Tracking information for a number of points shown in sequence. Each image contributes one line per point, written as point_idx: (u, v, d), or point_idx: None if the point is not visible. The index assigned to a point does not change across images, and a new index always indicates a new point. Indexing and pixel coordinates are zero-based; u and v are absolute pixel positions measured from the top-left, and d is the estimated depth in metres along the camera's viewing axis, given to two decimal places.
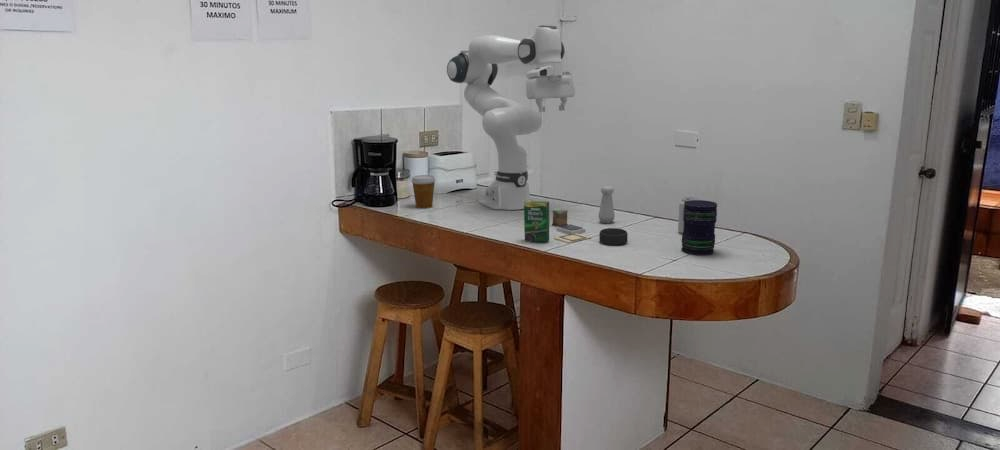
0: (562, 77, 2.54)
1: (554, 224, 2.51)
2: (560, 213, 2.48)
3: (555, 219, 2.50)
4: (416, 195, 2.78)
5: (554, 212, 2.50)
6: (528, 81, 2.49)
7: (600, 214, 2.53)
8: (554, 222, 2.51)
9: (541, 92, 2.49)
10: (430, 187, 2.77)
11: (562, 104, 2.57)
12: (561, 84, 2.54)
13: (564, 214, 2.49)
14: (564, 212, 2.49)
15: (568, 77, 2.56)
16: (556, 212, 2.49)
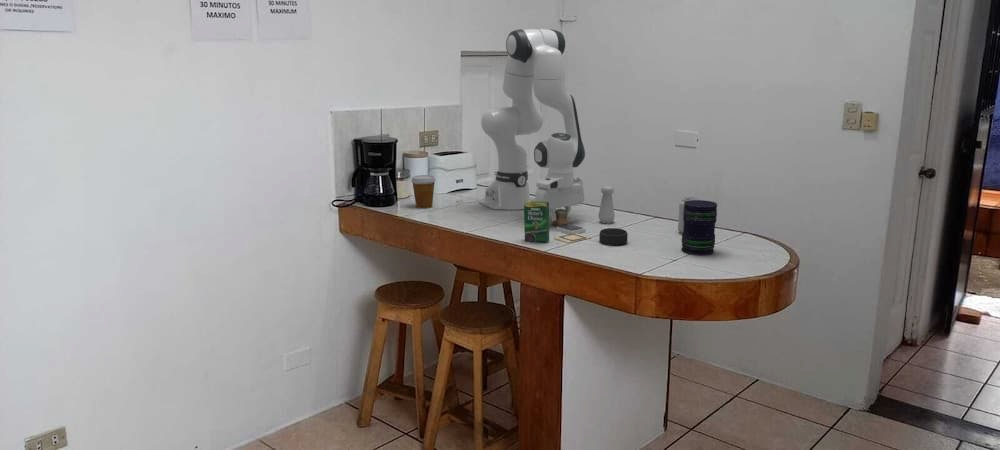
0: (572, 186, 2.49)
1: (554, 224, 2.51)
2: (560, 213, 2.48)
3: None
4: (416, 195, 2.78)
5: None
6: (538, 191, 2.44)
7: (600, 214, 2.53)
8: (554, 222, 2.51)
9: (550, 203, 2.44)
10: (430, 187, 2.77)
11: None
12: (571, 193, 2.50)
13: (564, 214, 2.49)
14: (564, 212, 2.49)
15: (578, 185, 2.51)
16: (556, 212, 2.49)
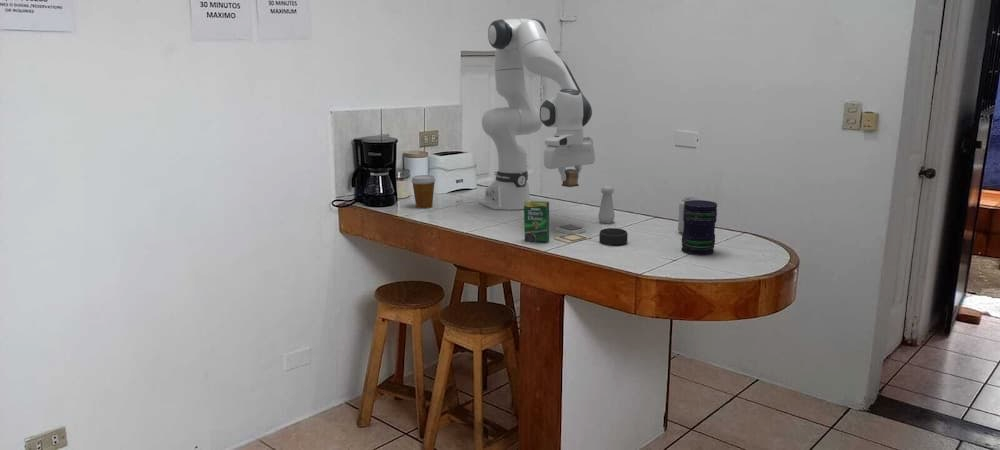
0: (582, 144, 2.39)
1: (564, 184, 2.40)
2: (570, 172, 2.37)
3: None
4: (416, 195, 2.78)
5: None
6: (546, 149, 2.33)
7: (600, 214, 2.53)
8: (564, 182, 2.40)
9: (560, 161, 2.34)
10: (430, 187, 2.77)
11: None
12: (581, 151, 2.39)
13: (574, 173, 2.38)
14: (574, 171, 2.38)
15: (589, 144, 2.40)
16: (566, 171, 2.38)
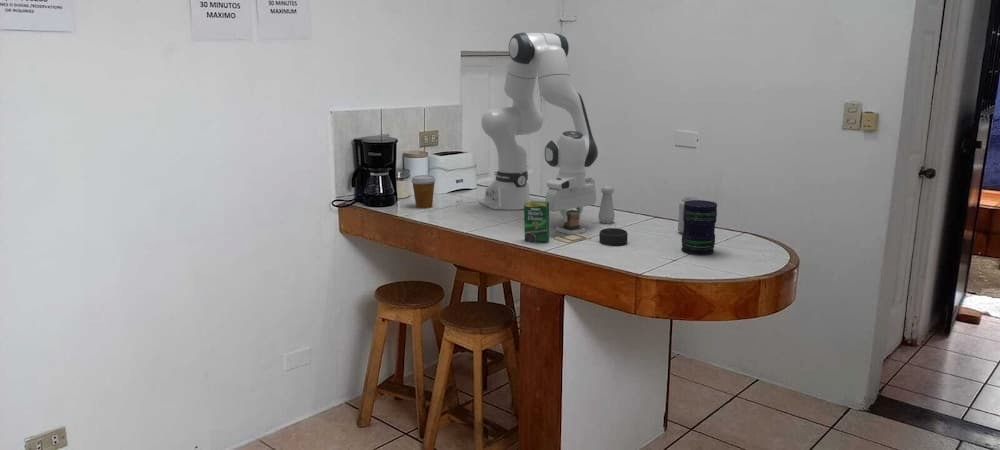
0: (584, 186, 2.40)
1: (565, 225, 2.41)
2: (572, 214, 2.39)
3: None
4: (416, 195, 2.78)
5: None
6: (548, 192, 2.34)
7: (600, 214, 2.53)
8: (565, 223, 2.41)
9: (561, 204, 2.35)
10: (430, 187, 2.77)
11: None
12: (583, 193, 2.40)
13: (576, 215, 2.40)
14: (576, 213, 2.40)
15: (590, 185, 2.42)
16: (568, 213, 2.40)
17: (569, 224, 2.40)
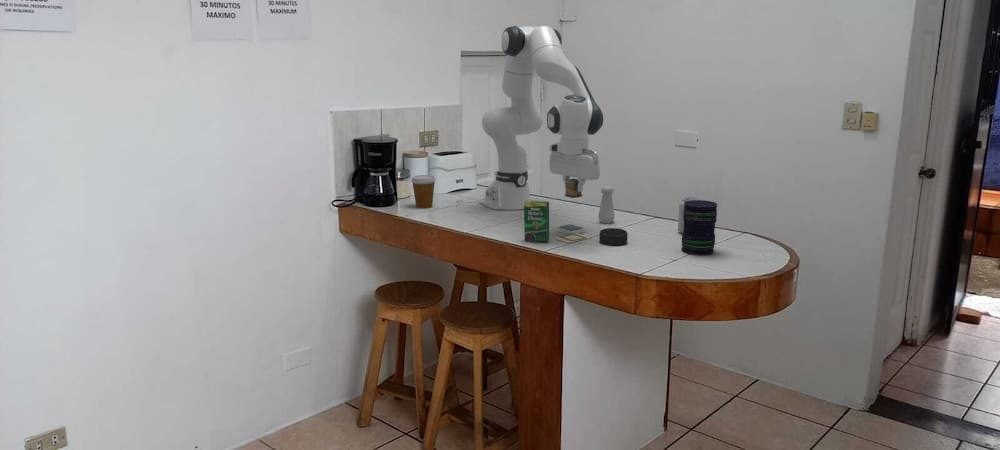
0: (579, 156, 2.22)
1: None
2: (566, 181, 2.29)
3: None
4: (416, 195, 2.78)
5: None
6: None
7: (600, 214, 2.53)
8: None
9: (557, 168, 2.31)
10: (430, 187, 2.77)
11: None
12: (578, 163, 2.23)
13: (570, 184, 2.27)
14: (570, 182, 2.27)
15: (585, 157, 2.20)
16: None
17: None
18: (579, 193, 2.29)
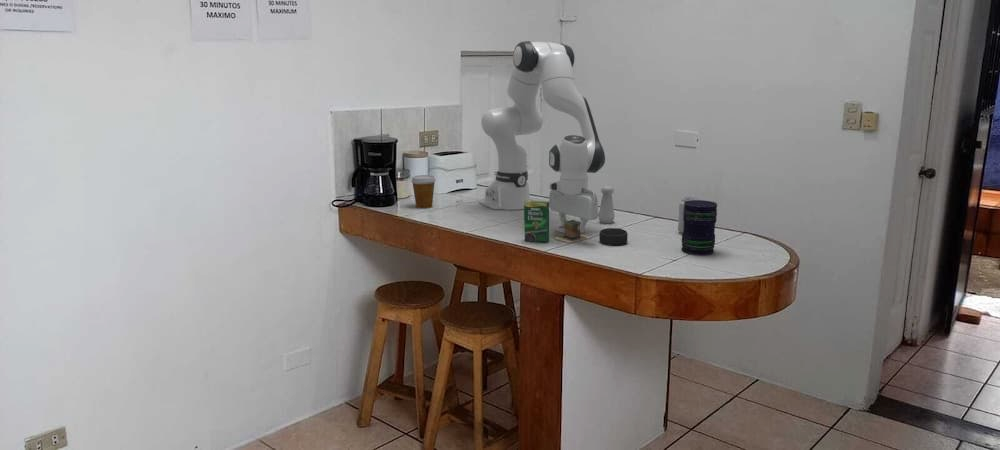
0: (578, 196, 2.25)
1: None
2: (565, 223, 2.32)
3: None
4: (416, 195, 2.78)
5: None
6: None
7: (600, 214, 2.53)
8: None
9: (556, 205, 2.34)
10: (430, 187, 2.77)
11: None
12: (578, 203, 2.26)
13: (569, 226, 2.31)
14: (569, 224, 2.31)
15: (584, 197, 2.23)
16: None
17: None
18: (578, 235, 2.32)
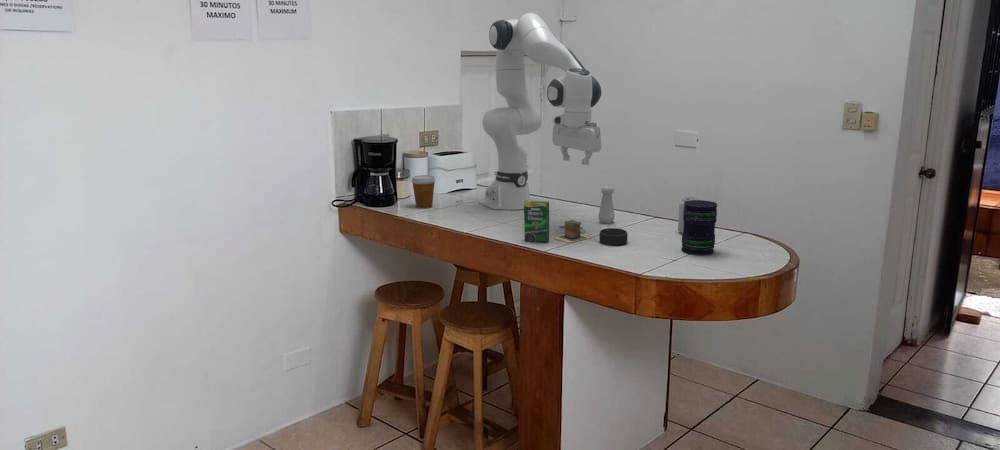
0: (582, 128, 2.26)
1: None
2: (565, 223, 2.32)
3: None
4: (416, 195, 2.78)
5: None
6: None
7: (600, 214, 2.53)
8: None
9: (560, 140, 2.35)
10: (430, 187, 2.77)
11: None
12: (581, 136, 2.27)
13: (569, 226, 2.31)
14: (569, 224, 2.31)
15: (588, 129, 2.24)
16: None
17: None
18: (578, 235, 2.32)
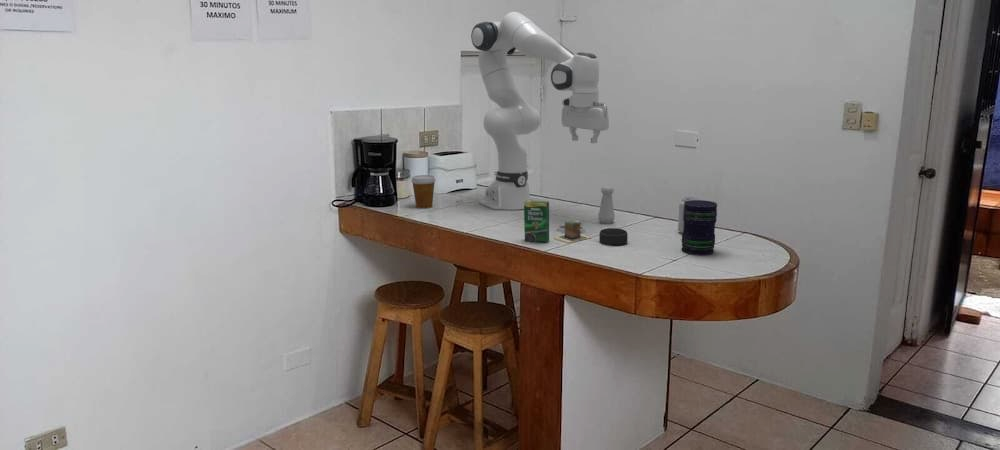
0: (590, 108, 2.40)
1: None
2: (565, 223, 2.32)
3: None
4: (416, 195, 2.78)
5: None
6: None
7: (600, 214, 2.53)
8: None
9: (569, 121, 2.49)
10: (430, 187, 2.77)
11: None
12: (589, 116, 2.41)
13: (569, 226, 2.31)
14: (569, 224, 2.31)
15: (596, 109, 2.37)
16: None
17: None
18: (578, 235, 2.32)
